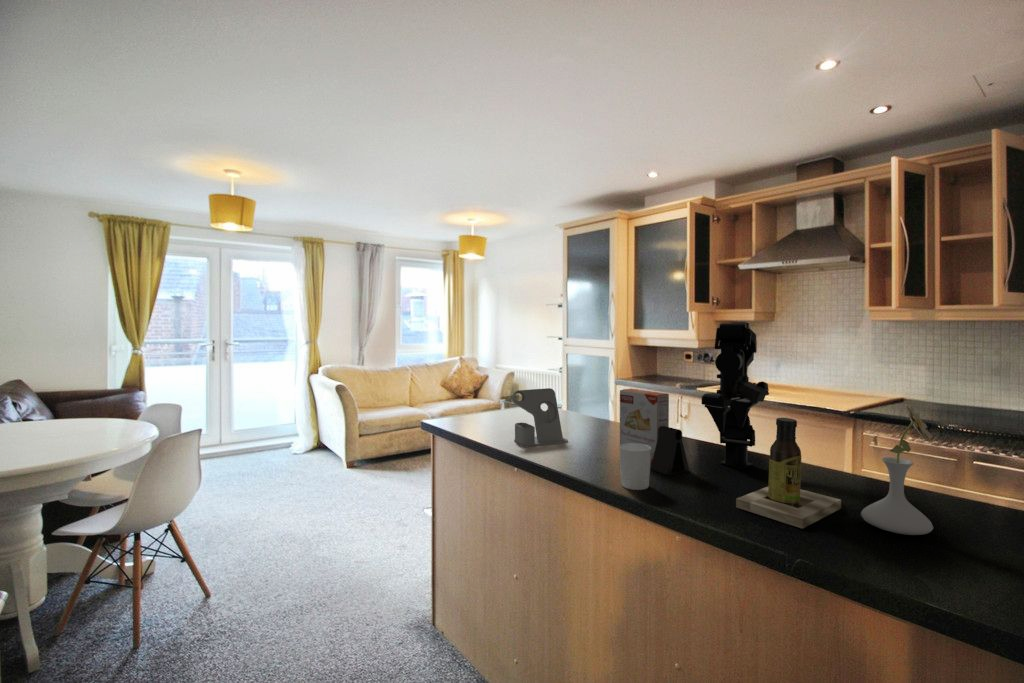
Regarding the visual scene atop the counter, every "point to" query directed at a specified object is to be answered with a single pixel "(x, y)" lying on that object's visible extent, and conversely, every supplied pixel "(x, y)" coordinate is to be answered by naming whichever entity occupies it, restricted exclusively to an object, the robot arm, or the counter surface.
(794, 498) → the sauce bottle
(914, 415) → the flower in vase
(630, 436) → the cracker box
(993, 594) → the counter surface
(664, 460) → the door stopper
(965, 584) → the counter surface
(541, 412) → the phone holder
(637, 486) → the white cup
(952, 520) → the counter surface
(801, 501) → the board
